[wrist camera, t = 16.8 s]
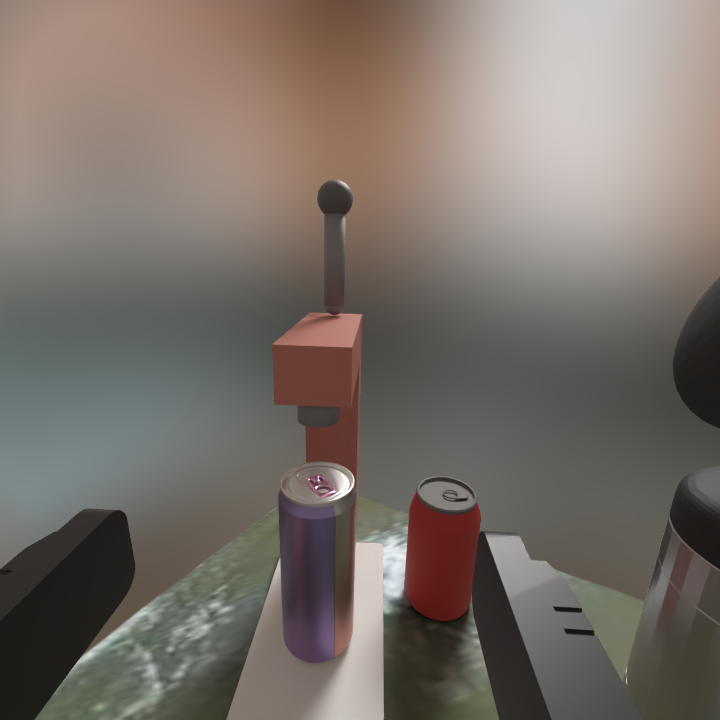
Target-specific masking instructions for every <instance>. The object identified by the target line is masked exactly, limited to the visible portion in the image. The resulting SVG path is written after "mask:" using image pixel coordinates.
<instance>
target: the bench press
mask: <svg viewBox="0 0 720 720" xmlns="http://www.w3.org/2000/svg"><path fill="white" fill-rule="evenodd" d="M317 200H318V205H319V207H320V209H321V211H322V212H323V213H324V214H325V215H324V216H325V217H324V218H325V221H324V222H325V223H324V224H325V225H324V226H325V231H324V234H325V236H324V239H325V241H324V243H325V244H324V245H325V246H324V250H325V251H324V252H325V253H324V255H325V256H324V264H325V265H324V268H325V269H324V275H325V276H324V281H325V283H324V285H325V286H324V287H325V288H324V293H325V294H324V295H325V296H324V297H325V300H324V305H325V309H326V311H327V312H328V313H309V314H308V315H307V316H306V317H304V318H303V319H302V320H301V321H300V322H298V323H297V324H296V325H295V326H294V327H293V328H291V329H290V330H289V331H288V332H287V333H286V334H284V335H283V336H282V337H281V338H279V339H278V340H277V341H276V342H275V343H274V344H272V351H273V379H274V404H276V405H278V404H279V405H297V409H298V410H297V411H298V422H299V423H300V424H302V425H304V426H306V463H308V462H318V461H322V462H331V463H335V464H339V465H341V466H343V467H345V468H347V469H348V470H349V471H350V472H351V473H352V475H353V476H354V480H355V488H356V491H357V489H358V487H357V486H358V450H359V448H358V447H359V412H360V375H361V373H360V372H361V337H362V314H340V313H341V312H342V311H343V308H344V284H345V283H344V282H345V280H344V278H345V215H346V214H347V213H348V212H349V210H350V208H351V206H352V202H353V196H352V192H351V190H350V188H349V187H348V186H347V185H346V184H345V183H343V182H342V181H339V180H330V181H327V182H326V183H324V184H323V185H322V186H321V188H320V189H319V192H318V198H317ZM356 526H357V509H356ZM226 720H384V673H383V544H375V543H358V542H356V546H355V582H354V619H353V634H352V637H351V640H350V642H349V644H348V645H347V647H346V648H345V649H344V651H343V652H342V653H341V654H340V655H338V656H337V657H336V658H334V659H333V660H331V661H329V662H326V663H322V664H309V663H306V662H303V661H301V660H299V659H298V658H296V657H295V656H294V655H293V654H292V653H291V652H290V651H289V650H288V648H287V647H286V645H285V642H284V639H283V623H282V594H281V566H280V559H279V562H278V565H277V568H276V571H275V574H274V577H273V580H272V583H271V586H270V589H269V592H268V595H267V598H266V601H265V604H264V607H263V610H262V613H261V616H260V619H259V622H258V625H257V628H256V631H255V634H254V637H253V640H252V643H251V646H250V650H249V653H248V656H247V659H246V662H245V665H244V668H243V671H242V674H241V677H240V680H239V683H238V686H237V689H236V692H235V695H234V698H233V701H232V704H231V707H230V710H229V713H228V716H227V719H226Z"/></svg>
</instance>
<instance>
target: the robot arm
mask: <svg viewBox="0 0 720 720" xmlns="http://www.w3.org/2000/svg"><path fill="white" fill-rule="evenodd" d="M673 376H674V381H675V385H676V388H677V391H678V393H679V395H680V397H681V399H682V400H683V402H684V403H685V404H686V406H687V407H688V408H689V409H690V411H691V412H693V413H694V414H695V415H696V416H698V417H699V418H700V419H702V420H703V421H705V422H707V423H709V424H711V425H713V426H715V427H718V428H720V277H719V278H718V279H717V280H716V281H715V282H714V283H713V285H711V287H709V289H708V290H707V291H706V292H705V293H704V295H703V296H702V297H701V299H700V300H699V302H698V303H697V304H696V306H695V307H694V308H693V310H692V312H691V313H690V315H689V317H688V319H687V320H686V322H685V324H684V327H683V329H682V331H681V333H680V336H679V338H678V341H677V345H676V348H675V352H674V357H673ZM134 574H135V561H134V555H133V550H132V544H131V538H130V533H129V527H128V522H127V517H126V515H125V513H124V512H122V511H120V510H104V509H85V510H82V511H81V512H79V513H78V514H77V515H76V516H75V517H73V518H72V519H71V520H70V521H69V522H68V523H66V524H65V525H64V526H63V527H62V528H61V529H60V530H58V531H57V532H53V533H52V534H50V535H48V536H46V537H45V538H43V539H41V540H39V541H38V542H36V543H34V544H32V545H31V546H29V547H27V548H25V549H24V550H23V551H22V552H20V553H19V554H18V555H17V556H16V557H14V558H13V559H12V560H11V561H10V562H9V563H7V564H6V565H5V566H4V567H3V568H1V569H0V720H34V719H35V718H36V717H37V715H38V714H39V713H40V711H41V710H42V709H43V707H44V706H45V705H46V703H47V702H48V700H49V699H50V698H51V696H52V695H53V694H54V692H55V691H56V690H57V688H58V687H59V686H60V684H61V683H62V682H63V680H64V679H65V677H66V676H67V675H68V673H69V672H70V671H71V669H72V668H73V667H74V665H75V664H76V663H77V661H78V660H79V659H80V657H81V656H82V654H83V653H84V652H85V650H86V649H87V648H88V646H89V645H90V643H91V642H92V641H93V640H94V638H95V637H96V636H97V634H98V633H99V631H100V630H101V629H102V627H103V626H104V625H105V623H106V622H107V621H108V619H109V618H110V617H111V615H112V614H113V612H114V611H115V610H116V608H117V607H118V606H119V604H120V603H121V602H122V600H123V599H124V597H125V596H126V595H127V593H128V591H129V589H130V587H131V584H132V582H133V578H134ZM472 605H473V613H474V619H475V623H476V627H477V631H478V635H479V639H480V643H481V647H482V651H483V656H484V660H485V664H486V668H487V672H488V676H489V680H490V684H491V688H492V692H493V696H494V700H495V704H496V708H497V712H498V716H499V720H720V466H714V467H708V468H703V469H699V470H696V471H694V472H692V473H689V474H688V475H687V476H685V477H684V478H683V479H682V480H681V482H680V483H679V485H678V487H677V489H676V492H675V495H674V499H673V502H672V506H671V509H670V513H669V516H668V520H667V524H666V527H665V531H664V534H663V538H662V541H661V545H660V549H659V553H658V556H657V560H656V564H655V567H654V571H653V574H652V578H651V582H650V585H649V589H648V592H647V596H646V600H645V603H644V607H643V610H642V614H641V617H640V621H639V625H638V628H637V632H636V635H635V639H634V643H633V646H632V650H631V653H630V657H629V661H628V664H627V668H626V671H625V675H624V679H623V682H622V680H621V679H620V677H619V675H618V673H617V671H616V670H615V668H614V666H613V664H612V662H611V660H610V659H609V657H608V655H607V653H606V651H605V650H604V648H603V646H602V644H601V642H600V641H599V639H598V637H597V636H595V635H594V630H593V628H592V626H591V624H590V622H589V621H588V619H587V617H586V615H585V613H582V608H581V606H580V604H579V603H578V601H577V599H576V597H575V595H574V593H573V592H572V590H571V588H570V586H569V584H568V583H567V582H566V581H565V580H564V579H563V578H562V577H561V576H560V575H559V574H558V573H557V572H556V571H555V570H554V569H553V568H552V567H551V566H550V565H549V564H548V563H547V562H546V561H536V560H531V559H530V557H529V555H528V553H527V551H526V549H525V547H524V545H523V542H522V541H521V538H520V537H519V535H518V534H517V533H509V532H491V531H490V532H489V531H481V532H480V533H479V536H478V543H477V551H476V559H475V567H474V575H473V583H472Z"/></svg>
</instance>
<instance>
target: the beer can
mask: <svg viewBox="0 0 720 720" xmlns="http://www.w3.org/2000/svg"><path fill="white" fill-rule="evenodd" d="M416 491H417V492H416V493H415V495H414V497H413V500H412V502H411V506H410V510H409V525H408V539H407V554H406V568H405V583H404V586H405V594H406V596H407V598H408V600H409V602H410V604H411V605H412V606H413V607H414V608H415V609H416V611H418V612H419V613H421V614H422V615H424V616H425V617H427V618H430V619H433V620H436V621H450V620H454V619H457V618H459V617H460V616H462V615H463V614H465V612H466V611H467V609H468V608H469V606H470V601H471V593H472V583H473V575H474V567H475V559H476V551H477V543H478V536H479V531H480V522H481V515H480V510H479V507H478V504H477V499H478V497H477V494H476V492H475V491H474V490H473V489H472V488H471V487H470V486H469V485H468V484H466V483H465V482H463V481H461V480H458V479H456V478H451V477H447V476H436V477H429V478H427V479H424V480H423V481H421V482H420V483H419V484H418V486H417V490H416Z"/></svg>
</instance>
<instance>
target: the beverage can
mask: <svg viewBox="0 0 720 720" xmlns="http://www.w3.org/2000/svg"><path fill="white" fill-rule="evenodd" d="M356 509H357V491H356V488H355V480H354V476H353V475H352V473H351V472H350V471H349V470H348V469H347V468H345V467H343V466H341V465H339V464H335V463H331V462H322V461H318V462H308V463H304V464H301V465H298V466H295V467H293V468H292V469H290V470H289V471H287V472H286V473H285V474H284V476H283V477H282V479H281V483H280V491H279V494H278V510H279V538H280V566H281V594H282V623H283V639H284V642H285V645H286V647H287V648H288V650H289V651H290V652H291V653H292V654H293V655H294V656H295V657H296V658H298V659H299V660H301V661H303V662H306V663H309V664H322V663H326V662H329V661H331V660H333V659H334V658H336V657H337V656H338V655H340V654H341V653H342V652H343V651H344V649H345V648H346V647H347V645H348V644H349V642H350V640H351V637H352V634H353V619H354V582H355V546H356Z"/></svg>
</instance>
